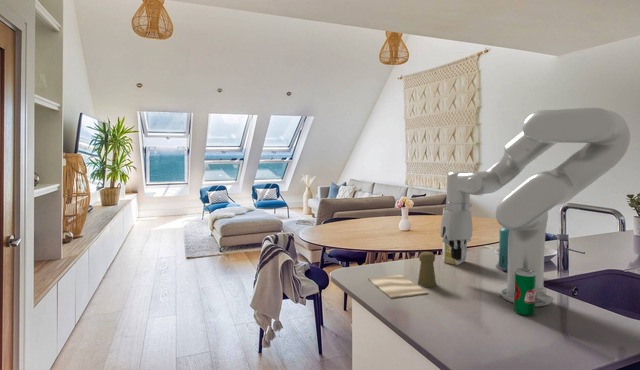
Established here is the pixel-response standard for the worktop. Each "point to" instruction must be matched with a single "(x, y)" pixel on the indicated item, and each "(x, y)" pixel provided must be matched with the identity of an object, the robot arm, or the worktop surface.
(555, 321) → the worktop surface
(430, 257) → the pepper shaker
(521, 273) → the soda can
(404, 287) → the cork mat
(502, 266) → the beverage bottle
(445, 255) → the juice carton
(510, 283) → the robot arm
